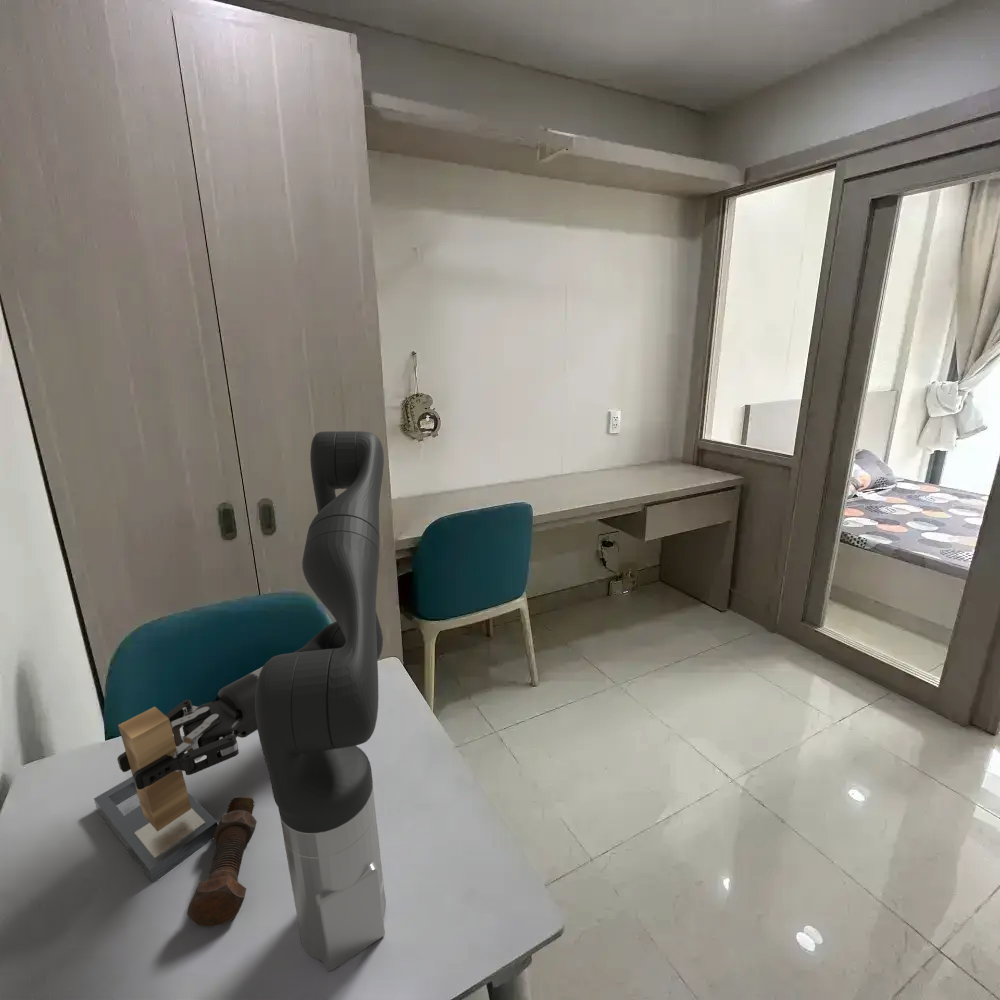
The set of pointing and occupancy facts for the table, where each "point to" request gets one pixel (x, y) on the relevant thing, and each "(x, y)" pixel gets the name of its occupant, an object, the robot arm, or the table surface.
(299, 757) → the robot arm
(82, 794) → the table surface
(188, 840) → the socket plate
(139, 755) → the wooden peg
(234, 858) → the bolt
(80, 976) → the table surface
